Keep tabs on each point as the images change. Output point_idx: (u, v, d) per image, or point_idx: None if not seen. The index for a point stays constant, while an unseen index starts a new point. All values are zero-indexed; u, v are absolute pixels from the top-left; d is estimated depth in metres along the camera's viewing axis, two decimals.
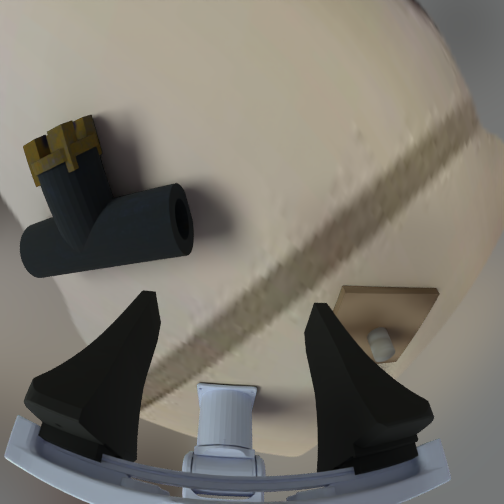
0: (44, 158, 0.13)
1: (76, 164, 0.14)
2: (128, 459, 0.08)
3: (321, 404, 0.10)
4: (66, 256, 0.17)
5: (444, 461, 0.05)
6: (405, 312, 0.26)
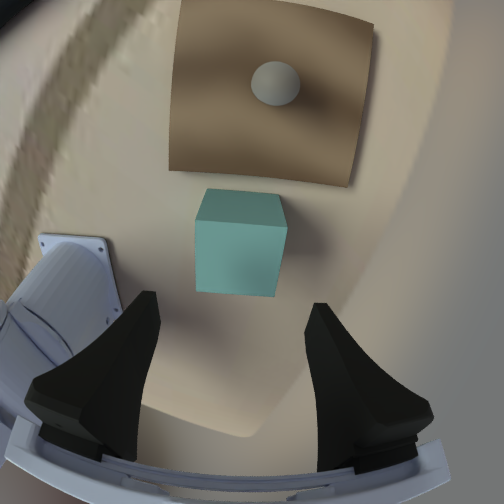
0: None
1: None
2: (128, 459, 0.08)
3: (321, 404, 0.10)
4: None
5: (444, 461, 0.05)
6: (314, 42, 0.13)
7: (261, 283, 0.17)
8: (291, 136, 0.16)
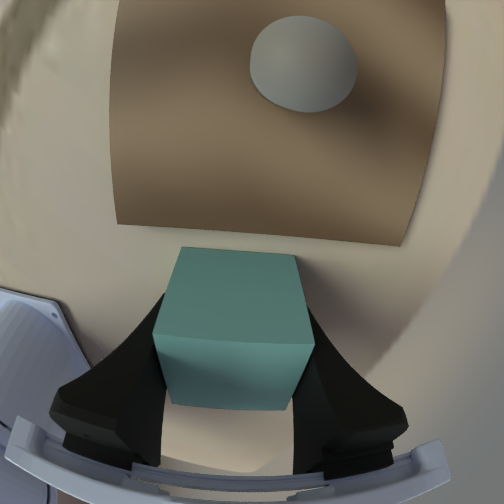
0: None
1: None
2: (152, 465, 0.08)
3: (296, 405, 0.10)
4: None
5: (443, 461, 0.05)
6: (362, 3, 0.06)
7: (267, 400, 0.10)
8: (322, 167, 0.09)
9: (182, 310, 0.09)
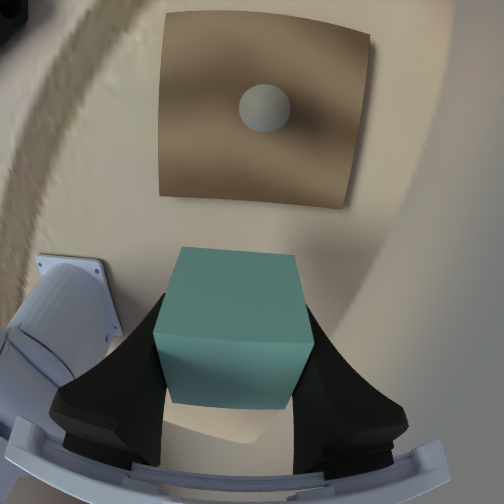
0: None
1: None
2: (152, 465, 0.08)
3: (297, 405, 0.10)
4: None
5: (444, 461, 0.05)
6: (307, 57, 0.12)
7: (266, 399, 0.10)
8: (284, 159, 0.16)
9: (182, 309, 0.09)
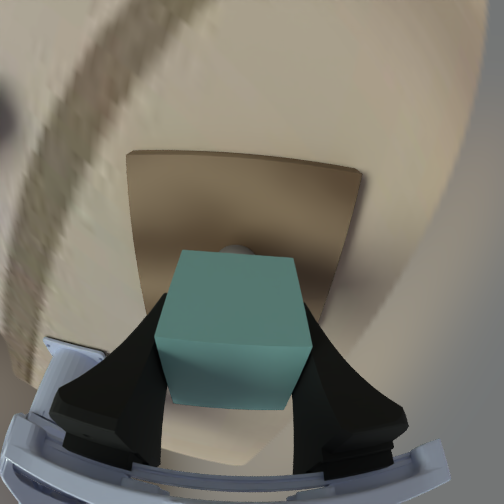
0: None
1: None
2: (152, 465, 0.08)
3: (297, 405, 0.10)
4: None
5: (444, 461, 0.05)
6: (284, 211, 0.14)
7: (266, 400, 0.10)
8: None
9: (183, 313, 0.09)
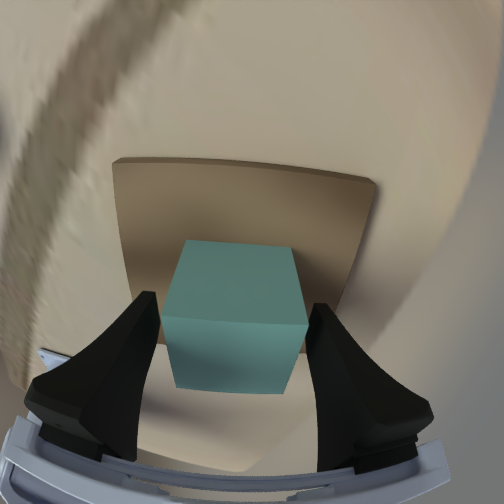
0: None
1: None
2: (128, 459, 0.08)
3: (321, 404, 0.10)
4: None
5: (443, 461, 0.05)
6: (289, 226, 0.13)
7: (265, 383, 0.11)
8: None
9: (187, 295, 0.10)
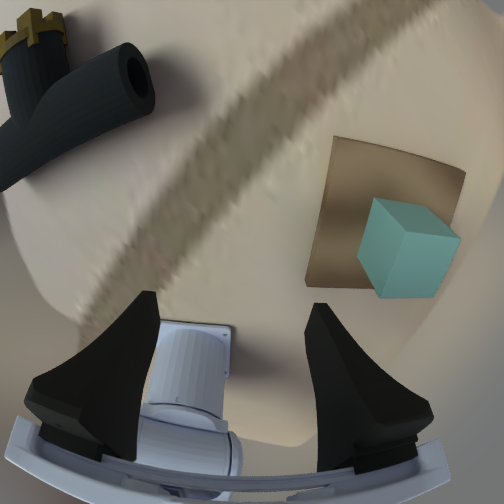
0: (9, 39, 0.07)
1: (36, 39, 0.08)
2: (128, 459, 0.08)
3: (321, 404, 0.10)
4: (12, 142, 0.11)
5: (444, 461, 0.05)
6: (427, 193, 0.18)
7: (430, 286, 0.16)
8: None
9: (407, 223, 0.15)
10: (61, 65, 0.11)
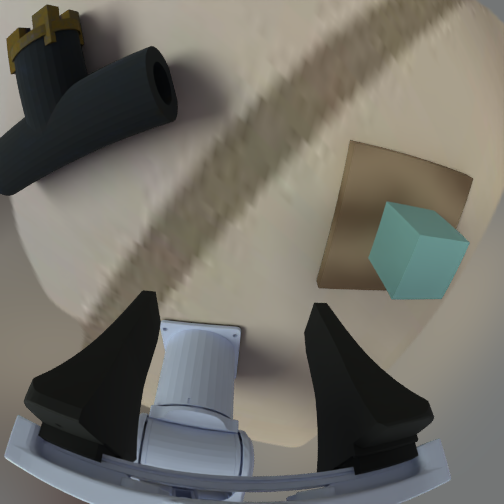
0: (24, 36, 0.07)
1: (54, 38, 0.09)
2: (128, 459, 0.08)
3: (321, 404, 0.10)
4: (27, 145, 0.12)
5: (443, 461, 0.05)
6: (436, 198, 0.18)
7: (439, 288, 0.16)
8: None
9: (420, 227, 0.15)
10: (79, 66, 0.11)
